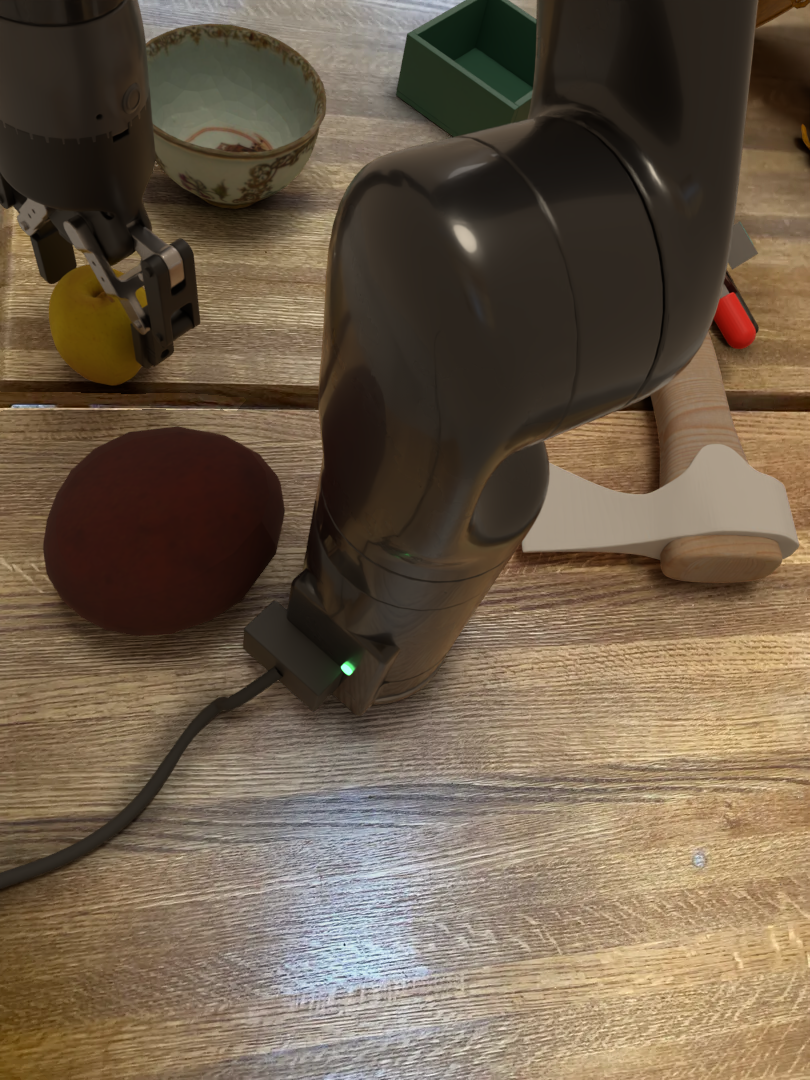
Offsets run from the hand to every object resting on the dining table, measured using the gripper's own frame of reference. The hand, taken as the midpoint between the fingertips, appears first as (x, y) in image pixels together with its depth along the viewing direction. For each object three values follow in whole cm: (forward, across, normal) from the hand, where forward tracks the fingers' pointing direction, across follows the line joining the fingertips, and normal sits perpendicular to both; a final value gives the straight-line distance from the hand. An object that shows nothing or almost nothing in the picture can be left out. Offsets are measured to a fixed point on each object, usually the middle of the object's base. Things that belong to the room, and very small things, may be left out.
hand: (106, 316), depth 53 cm
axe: (+2, +16, +36) cm, 39 cm away
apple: (+4, 0, 0) cm, 5 cm away
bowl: (+5, -8, +18) cm, 20 cm away
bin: (+4, -1, +42) cm, 42 cm away
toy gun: (+1, +25, +33) cm, 42 cm away
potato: (-6, +14, -8) cm, 18 cm away
